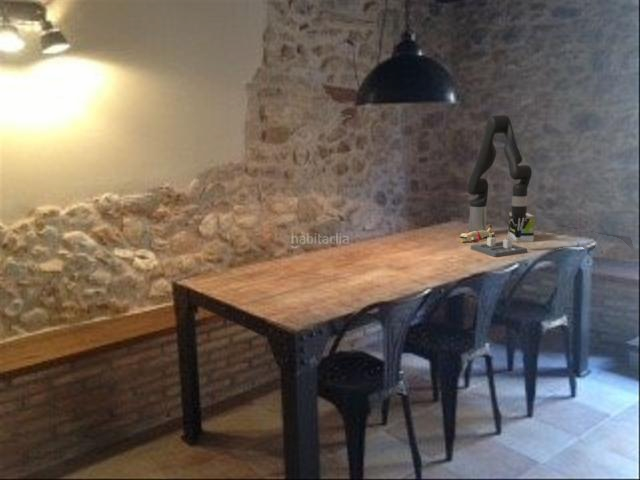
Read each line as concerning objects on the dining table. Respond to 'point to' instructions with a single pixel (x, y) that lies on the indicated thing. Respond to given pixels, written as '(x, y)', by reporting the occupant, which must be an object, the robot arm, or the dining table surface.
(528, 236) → the tea box
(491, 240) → the cream fader
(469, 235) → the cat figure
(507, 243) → the grey fader
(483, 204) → the robot arm
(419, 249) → the dining table surface
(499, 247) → the grey slotted board
